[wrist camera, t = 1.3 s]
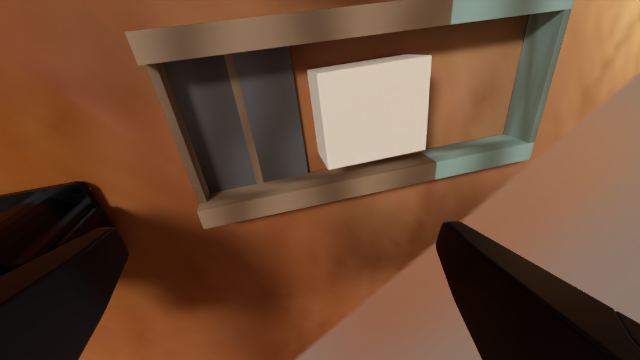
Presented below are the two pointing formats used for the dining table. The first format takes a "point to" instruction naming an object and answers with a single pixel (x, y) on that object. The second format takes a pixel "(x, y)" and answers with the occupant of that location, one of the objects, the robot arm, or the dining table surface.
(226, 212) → the box
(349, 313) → the dining table surface
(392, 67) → the ivory block
